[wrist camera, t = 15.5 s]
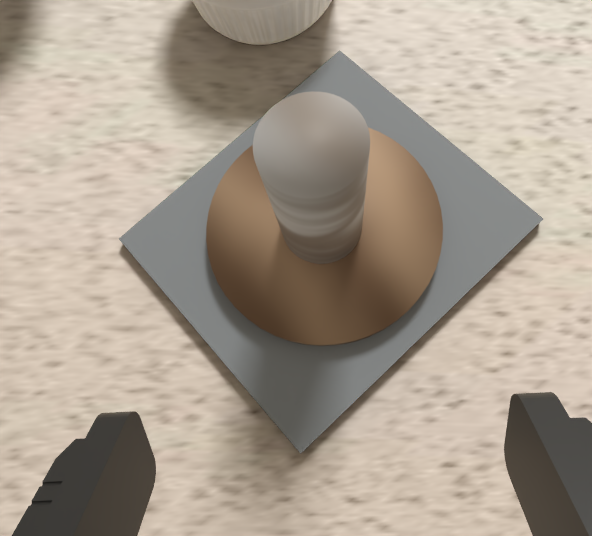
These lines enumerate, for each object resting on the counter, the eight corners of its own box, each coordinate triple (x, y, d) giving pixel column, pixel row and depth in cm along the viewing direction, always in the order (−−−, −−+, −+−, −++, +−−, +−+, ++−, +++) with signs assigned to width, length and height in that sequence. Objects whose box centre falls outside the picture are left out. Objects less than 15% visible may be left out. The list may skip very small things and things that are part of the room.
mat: (301, 452, 25) (300, 453, 25) (123, 242, 30) (118, 238, 29) (539, 222, 27) (543, 218, 27) (339, 57, 32) (339, 50, 31)
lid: (320, 398, 25) (305, 397, 16) (165, 231, 29) (76, 148, 19) (490, 228, 27) (569, 136, 17) (324, 88, 30) (314, -54, 21)
